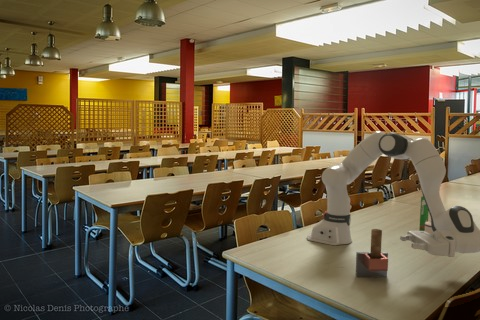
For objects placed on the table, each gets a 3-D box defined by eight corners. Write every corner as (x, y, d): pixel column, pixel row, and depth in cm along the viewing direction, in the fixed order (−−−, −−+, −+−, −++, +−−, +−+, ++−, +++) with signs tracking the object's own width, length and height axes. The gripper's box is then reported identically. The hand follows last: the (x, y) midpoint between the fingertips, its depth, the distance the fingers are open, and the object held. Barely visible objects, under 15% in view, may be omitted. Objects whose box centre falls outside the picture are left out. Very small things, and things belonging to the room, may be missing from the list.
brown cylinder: (369, 266, 150) (370, 230, 149) (370, 263, 153) (372, 228, 152) (379, 268, 148) (381, 232, 147) (380, 265, 152) (382, 229, 150)
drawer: (385, 275, 156) (386, 252, 155) (393, 283, 148) (394, 258, 147) (355, 275, 155) (356, 252, 155) (362, 283, 148) (363, 259, 147)
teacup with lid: (439, 245, 194) (441, 222, 193) (420, 241, 201) (422, 218, 200) (447, 240, 203) (449, 218, 202) (429, 236, 209) (430, 215, 208)
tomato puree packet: (426, 226, 228) (428, 193, 226) (428, 227, 227) (430, 193, 225) (418, 232, 217) (420, 196, 215) (420, 232, 216) (422, 197, 214)
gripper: (428, 226, 161) (395, 226, 160) (457, 241, 140) (419, 242, 140) (427, 241, 161) (394, 241, 161) (456, 258, 141) (418, 259, 141)
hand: (406, 242), depth 150 cm, fingers open, 8 cm apart
